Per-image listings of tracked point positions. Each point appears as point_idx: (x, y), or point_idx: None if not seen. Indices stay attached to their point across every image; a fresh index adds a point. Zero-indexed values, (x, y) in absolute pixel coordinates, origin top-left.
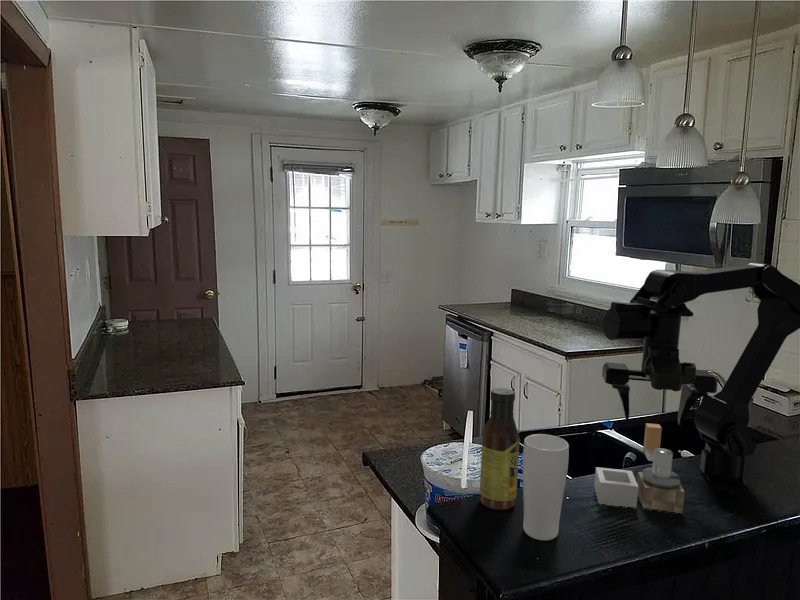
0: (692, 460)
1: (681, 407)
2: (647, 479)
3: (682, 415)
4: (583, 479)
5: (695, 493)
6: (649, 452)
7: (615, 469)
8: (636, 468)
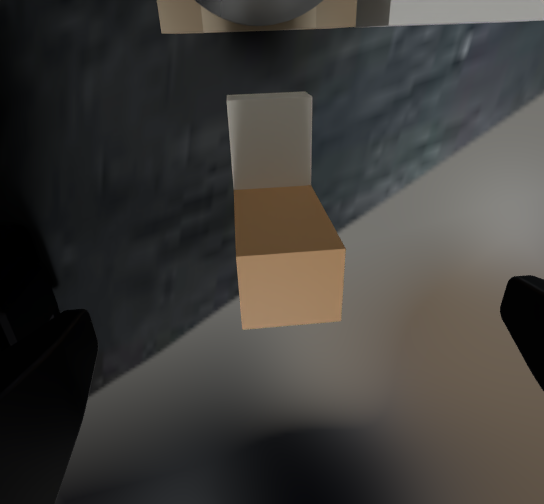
0: None
1: (9, 484)
2: None
3: (20, 365)
4: (514, 97)
5: (80, 103)
6: (301, 132)
7: (472, 17)
8: None
